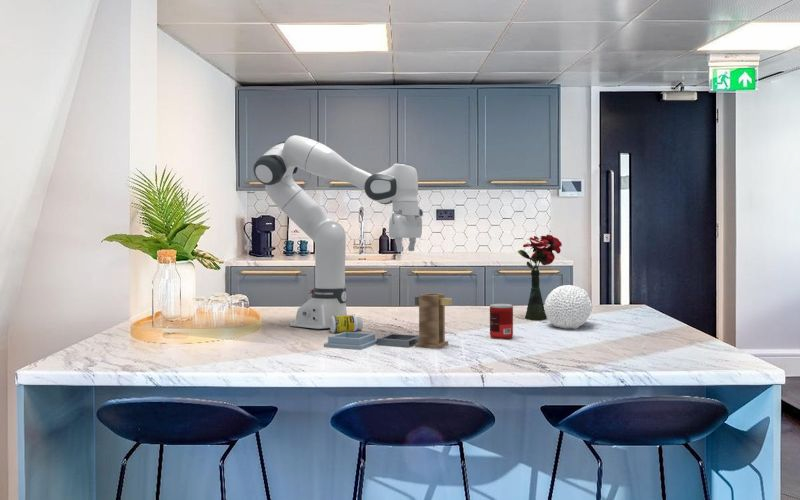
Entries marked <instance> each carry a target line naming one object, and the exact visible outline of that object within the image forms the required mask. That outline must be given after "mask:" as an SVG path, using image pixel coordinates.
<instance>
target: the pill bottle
mask: <svg viewBox="0 0 800 500" xmlns="http://www.w3.org/2000/svg"><path fill="white" fill-rule="evenodd" d="M363 328H364V321H363V317H362V316H355V315H354V314H351V315H350V314H349V315H348V314H347V315H346V316H332V317H331V318H330V328H329V330H330V332H332V333H331V334H340V333H343V332H355V333H356V331H362V330H363Z"/></svg>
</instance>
